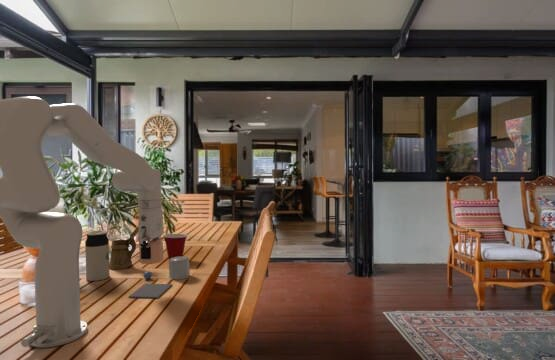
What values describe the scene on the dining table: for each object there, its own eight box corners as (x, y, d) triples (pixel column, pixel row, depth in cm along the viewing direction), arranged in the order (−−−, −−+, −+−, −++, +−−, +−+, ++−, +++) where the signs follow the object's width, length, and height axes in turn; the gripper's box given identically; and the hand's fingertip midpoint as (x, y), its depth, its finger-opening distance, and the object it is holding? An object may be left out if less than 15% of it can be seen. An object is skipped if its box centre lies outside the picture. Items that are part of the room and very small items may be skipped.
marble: (149, 280, 127) (149, 272, 127) (142, 280, 127) (142, 272, 127) (153, 277, 130) (153, 270, 130) (145, 277, 130) (145, 270, 130)
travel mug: (81, 281, 126) (80, 234, 126) (93, 274, 134) (92, 230, 134) (102, 281, 126) (101, 234, 125) (113, 274, 134) (112, 230, 133)
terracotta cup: (157, 264, 112) (156, 243, 112) (136, 263, 113) (136, 243, 112) (165, 258, 119) (165, 238, 119) (146, 257, 120) (145, 238, 119)
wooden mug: (137, 269, 141) (136, 227, 140) (104, 270, 140) (103, 227, 140) (145, 263, 150) (144, 223, 149) (114, 263, 149) (113, 223, 148)
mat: (157, 298, 110) (157, 297, 110) (128, 297, 111) (128, 296, 111) (172, 285, 122) (172, 284, 122) (145, 284, 123) (145, 283, 123)
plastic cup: (192, 257, 158) (191, 232, 158) (180, 264, 148) (179, 237, 147) (171, 256, 161) (171, 231, 161) (158, 262, 151) (158, 236, 150)
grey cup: (185, 279, 128) (184, 261, 128) (167, 279, 129) (166, 261, 128) (191, 273, 135) (191, 256, 135) (174, 273, 136) (173, 256, 135)
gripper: (149, 208, 106) (150, 263, 107) (170, 201, 123) (171, 249, 124) (126, 207, 107) (127, 262, 108) (150, 201, 124) (152, 248, 125)
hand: (151, 255), depth 116 cm, fingers closed on terracotta cup, 7 cm apart
